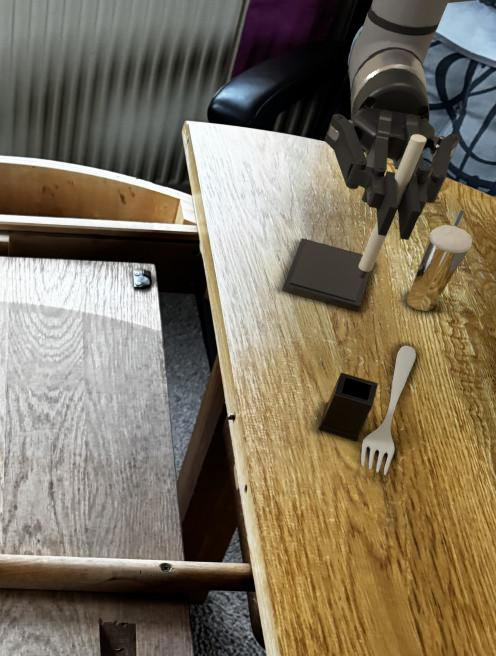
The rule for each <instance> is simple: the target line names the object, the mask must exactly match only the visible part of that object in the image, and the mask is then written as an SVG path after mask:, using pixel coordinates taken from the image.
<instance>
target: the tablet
mask: <svg viewBox="0 0 496 656" xmlns="http://www.w3.org/2000/svg"><path fill="white" fill-rule="evenodd" d="M362 256H363V253H358V252H355V251H352V250H347V249H344V248H340V247H337V246H333V245H329V244H325V243H322V242H317V241H315V240H312V239H307V238H303V237H301V239H300V242H299V244H298V246H297V249H296V251H295V254H294V257H293V260H292V262H291V264H290V267H289V270H288V272H287V275H286V277H285V281H284V283H283V286H282V289H281V291H282V292H286V293H290V294H294V295H297V296H300V297H304V298H307V299H311V300H314V301H319V302H322V303H325V304H329V305H331V306H336V307H339V308H343V309H346V310H350V311H353V312H359V309H360V307H361V303H362V300H363V296H364V292H365V291H366V290H365V289H366V286H367V283H368V279H369V276H370V272H371V271H369V272H367V274H366V276H365V278H363V279H362V278H359V277H358V275H359V272H360V270H361V269H359V263H360V261H361V258H362Z"/></svg>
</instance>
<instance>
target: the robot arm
mask: <svg viewBox="0 0 496 656" xmlns="http://www.w3.org/2000/svg"><path fill="white" fill-rule="evenodd" d="M474 1H476V0H372V2H371V5H370V7H369V9H368V11H367V13H366V17H365V19H364V23H363V25H362V26H361V27H360V28H359V29H358V31H357V32H356V33H355V36H354V37H353V40H352V43H351V46H350V52H349V53H348V58H347V59H348V60H347V66H348V70H347V72H348V77H349V87H350V88H349V89H350V119H347V118H346V117H345V116H344V115H342V114H341V113H335V114H333V115H332V117H331V120H330V123H329V126H328V130H327V131H326V135H325V138H324V142H325V143H326V144H327V145H328V146H329V147H330V148H331V149H332V150H333V152H334V156H335V158H336V161H337V164H338V166H339V169H340V173H341V175H342V178H343V181H344V184H345V186H346V188H347V189H349V190H358V188H359V187H361V188H363V189H364V191H363V194H362V196H361V202H363V203H366V204H367V206H368V207H369V208H372V209H376V222H377V225H378V235H382V236H386V237H387V236H388V233H389V231H390V228H391V226H392V223H393V221H394V219H395V217H396V214H397V218H398V228H399V239H400V240H405V241H409V240H410V238H411V235H412V234H413V231H414V228H415V226H416V224H417V221H418V219H419V218H420V216H421V215H422V213H423V211H424V209H425V206H426V205H427V203H429V204H434V203H435V202H436V200H437V198H438V196H439V194H440V191H441V190H442V187H443V185H444V182H445V181H446V178H447V174H448V170H449V165H450V163H451V160H452V158H453V157H454V154H455V151H456V150H457V148H458V145H459V143H460V140H461V136H460V135H459V134H456V133H449V134H447V136H444V135H440V136H437V135H436V129H435V127H434V126H433V125H432V124H431V123H430V103H429V98H428V97H429V96H428V86H427V80H426V76H425V70H424V69H425V68H424V63H425V59H426V56H427V54H428V51H429V50H430V46H431V45H432V42H433V39H434V37H435V34H436V31H437V30H438V28H439V26H440V22H441V21H442V19H443V18H442V17H443V15H444V14H445V11H446V8H447V6H448V4H453V3H464V2H474ZM414 134H418V135H422V136H424V137H425V138H426V139H427V141H426V143H425V145H424V148H423V150H422V153H421V155H420V157H419V160H418V162H417V164H416V167H415V169H414V172H413V174H412V176H411V179H410V181H409V183H408V186H407V188H406V190H405V193H404V195H403V197H402V200H401V202H400V204H399V207H398V202H397V191H396V179H395V175H396V172H394V171H389V170H387V169H388V168H387V167H388V158H389V159H390V160H392V163H393V167H394V169H395V170H398V168H399V165H400V163H401V160H402V158H403V155H404V153H405V151H406V148H407V146H408V143H409V141H410V138H411V136H412V135H414ZM428 149H429V154H430V155H431V156H430V158H429V161H430V162H431V164H430V166H429V167H426V164H425V160H424V156H423V152H425V151H426V150H428Z"/></svg>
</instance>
